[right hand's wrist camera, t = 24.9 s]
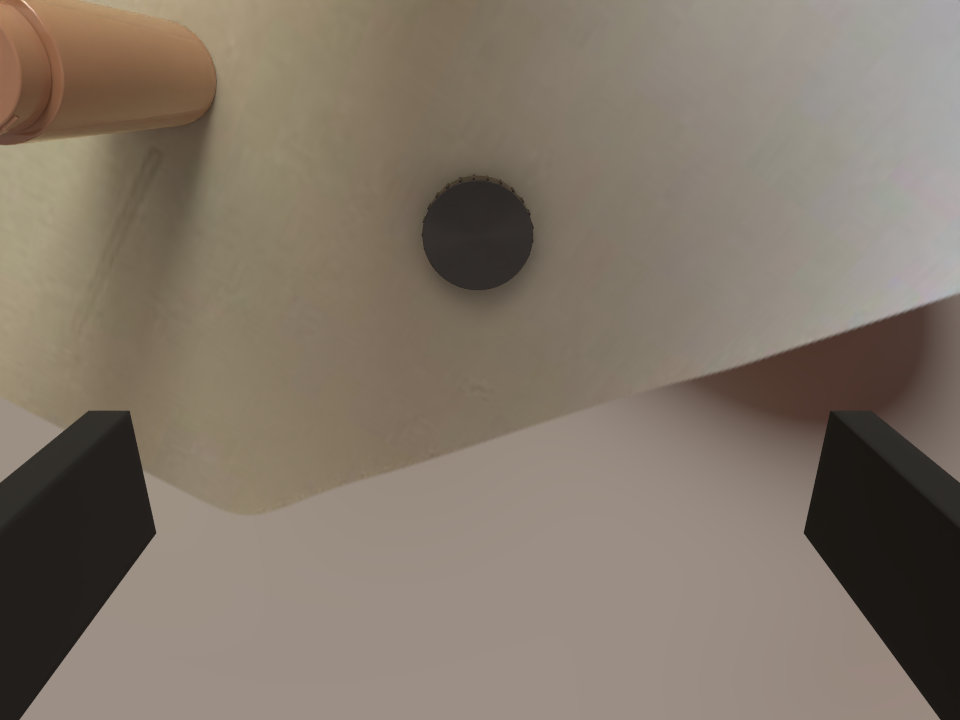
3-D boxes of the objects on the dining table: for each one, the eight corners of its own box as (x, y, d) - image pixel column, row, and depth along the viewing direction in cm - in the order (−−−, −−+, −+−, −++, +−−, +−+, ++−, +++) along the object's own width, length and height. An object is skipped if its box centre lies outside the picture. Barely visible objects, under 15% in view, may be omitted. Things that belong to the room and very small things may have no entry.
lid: (548, 198, 36) (552, 204, 34) (507, 297, 38) (509, 307, 37) (446, 157, 35) (444, 160, 34) (409, 260, 37) (406, 268, 36)
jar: (96, 63, 34) (-177, 44, 20) (164, -4, 33) (-75, -76, 19) (169, 146, 35) (-36, 182, 21) (237, 84, 34) (67, 78, 20)
